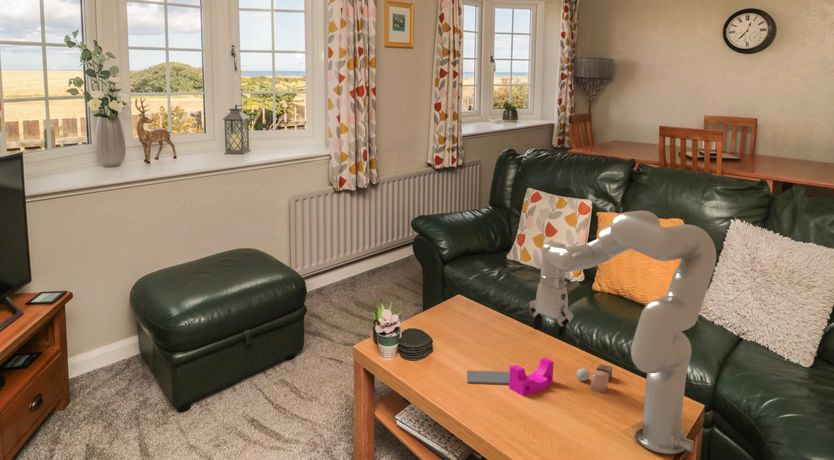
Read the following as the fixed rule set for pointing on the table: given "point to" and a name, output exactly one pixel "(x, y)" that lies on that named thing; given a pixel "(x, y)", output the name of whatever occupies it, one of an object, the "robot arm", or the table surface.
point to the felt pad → (488, 377)
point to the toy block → (531, 378)
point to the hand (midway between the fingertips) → (549, 332)
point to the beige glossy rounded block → (599, 381)
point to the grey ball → (583, 374)
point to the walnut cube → (605, 370)
